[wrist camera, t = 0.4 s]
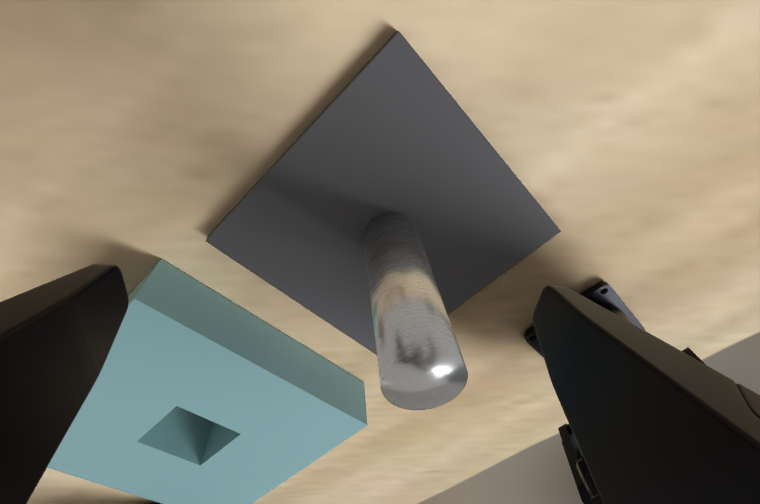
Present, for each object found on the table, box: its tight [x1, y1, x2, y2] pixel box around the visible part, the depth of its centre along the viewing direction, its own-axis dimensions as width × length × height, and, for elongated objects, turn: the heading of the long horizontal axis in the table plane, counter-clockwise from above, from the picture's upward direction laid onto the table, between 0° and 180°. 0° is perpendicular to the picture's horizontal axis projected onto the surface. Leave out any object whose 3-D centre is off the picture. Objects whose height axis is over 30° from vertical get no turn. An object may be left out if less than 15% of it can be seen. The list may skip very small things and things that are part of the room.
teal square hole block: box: [47, 259, 367, 504], centre depth 27 cm, size 16×16×4 cm
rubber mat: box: [206, 31, 561, 355], centre depth 22 cm, size 14×14×1 cm
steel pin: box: [363, 212, 468, 410], centre depth 18 cm, size 3×3×10 cm
